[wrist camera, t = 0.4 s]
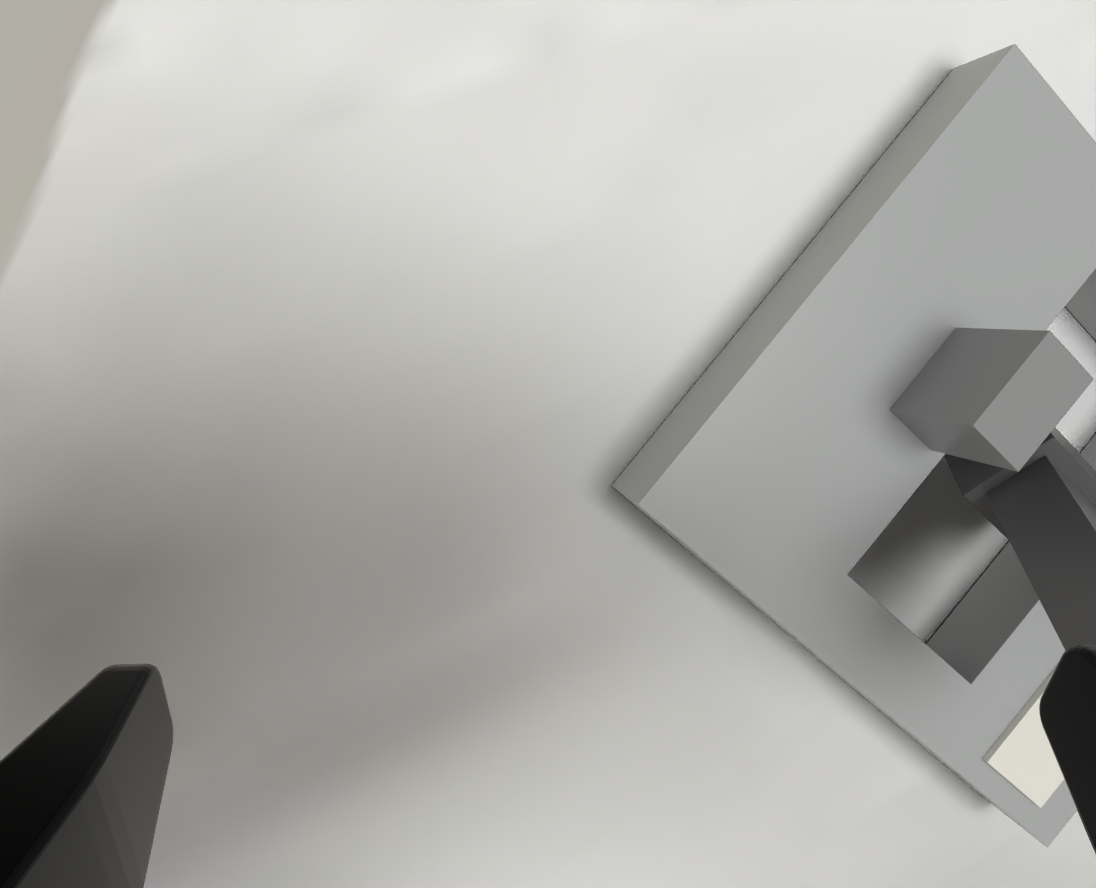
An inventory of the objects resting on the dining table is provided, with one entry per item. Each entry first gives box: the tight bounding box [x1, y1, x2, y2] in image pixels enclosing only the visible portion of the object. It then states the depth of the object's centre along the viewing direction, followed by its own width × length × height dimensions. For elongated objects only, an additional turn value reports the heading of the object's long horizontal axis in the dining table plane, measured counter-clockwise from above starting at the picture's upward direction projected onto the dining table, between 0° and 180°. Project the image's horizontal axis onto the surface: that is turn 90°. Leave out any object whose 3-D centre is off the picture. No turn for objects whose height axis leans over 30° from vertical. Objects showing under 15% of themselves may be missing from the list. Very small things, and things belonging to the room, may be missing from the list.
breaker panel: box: [612, 44, 1096, 847], centre depth 22 cm, size 14×16×5 cm
